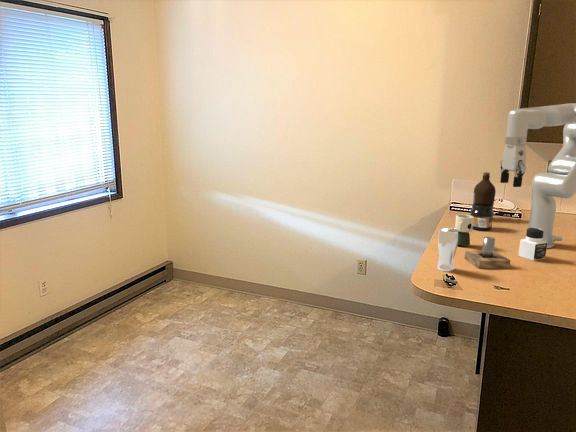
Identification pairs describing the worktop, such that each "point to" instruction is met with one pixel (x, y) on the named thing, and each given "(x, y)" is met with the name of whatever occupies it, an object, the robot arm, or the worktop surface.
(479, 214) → the supplement container
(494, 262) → the square ring frame
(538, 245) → the medicine bottle
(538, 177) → the robot arm
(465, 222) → the character mug
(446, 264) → the beer glass
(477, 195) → the olive oil
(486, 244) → the metal peg
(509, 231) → the worktop surface
